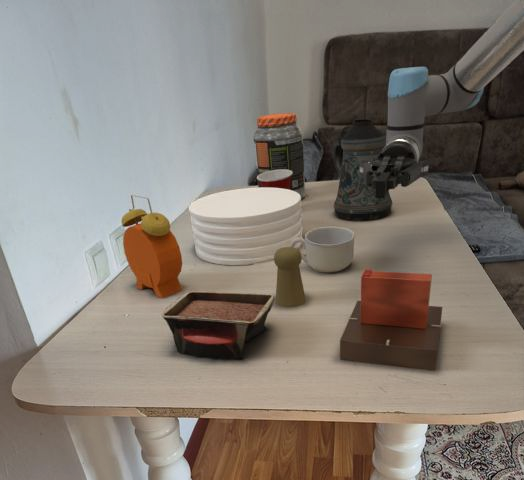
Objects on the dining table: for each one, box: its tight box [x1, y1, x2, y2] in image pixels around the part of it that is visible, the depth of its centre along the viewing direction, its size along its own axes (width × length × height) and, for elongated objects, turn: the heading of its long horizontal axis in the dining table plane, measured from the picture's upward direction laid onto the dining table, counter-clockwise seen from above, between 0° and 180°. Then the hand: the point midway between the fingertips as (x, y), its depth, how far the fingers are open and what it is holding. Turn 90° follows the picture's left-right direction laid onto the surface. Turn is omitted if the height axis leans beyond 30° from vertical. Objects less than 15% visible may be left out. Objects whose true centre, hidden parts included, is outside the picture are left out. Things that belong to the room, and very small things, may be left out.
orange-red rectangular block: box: [360, 269, 433, 329], centre depth 74 cm, size 10×2×8 cm, turn 70°
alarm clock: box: [121, 194, 183, 299], centre depth 102 cm, size 13×6×20 cm, turn 45°
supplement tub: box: [253, 112, 306, 200], centre depth 158 cm, size 16×16×26 cm
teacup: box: [290, 225, 356, 274], centre depth 106 cm, size 14×11×8 cm
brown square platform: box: [339, 300, 443, 372], centre depth 77 cm, size 14×14×4 cm
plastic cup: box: [256, 169, 293, 190], centre depth 147 cm, size 11×11×12 cm
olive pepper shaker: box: [273, 247, 307, 308], centre depth 92 cm, size 6×6×11 cm
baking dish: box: [161, 290, 275, 361], centre depth 82 cm, size 14×18×10 cm
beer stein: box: [332, 119, 393, 222], centre depth 135 cm, size 16×19×25 cm
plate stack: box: [188, 187, 304, 266], centre depth 123 cm, size 28×28×12 cm
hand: (380, 189), depth 78 cm, fingers closed
